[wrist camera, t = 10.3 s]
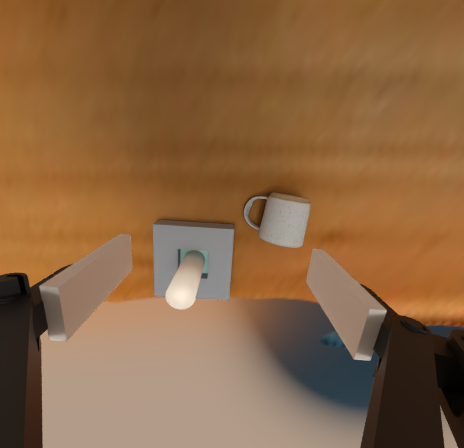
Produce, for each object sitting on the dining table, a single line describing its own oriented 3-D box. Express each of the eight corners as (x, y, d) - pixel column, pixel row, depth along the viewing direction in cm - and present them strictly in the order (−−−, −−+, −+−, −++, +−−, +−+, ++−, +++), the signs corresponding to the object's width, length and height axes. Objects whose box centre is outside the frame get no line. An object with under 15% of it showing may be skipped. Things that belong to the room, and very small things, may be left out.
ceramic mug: (304, 195, 39) (321, 201, 32) (294, 237, 41) (308, 252, 34) (247, 186, 39) (250, 190, 32) (240, 229, 41) (241, 242, 34)
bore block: (159, 219, 40) (152, 224, 37) (233, 224, 40) (234, 229, 37) (160, 286, 44) (154, 296, 40) (229, 290, 44) (228, 300, 41)
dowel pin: (184, 249, 40) (165, 282, 28) (205, 250, 40) (195, 284, 28) (183, 268, 41) (165, 308, 29) (204, 270, 41) (194, 310, 29)
